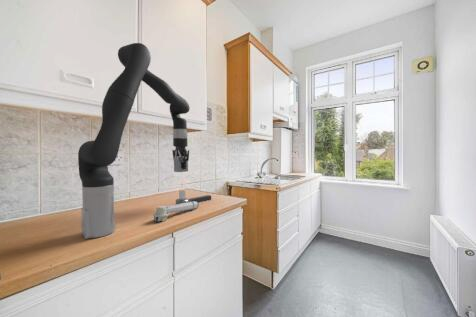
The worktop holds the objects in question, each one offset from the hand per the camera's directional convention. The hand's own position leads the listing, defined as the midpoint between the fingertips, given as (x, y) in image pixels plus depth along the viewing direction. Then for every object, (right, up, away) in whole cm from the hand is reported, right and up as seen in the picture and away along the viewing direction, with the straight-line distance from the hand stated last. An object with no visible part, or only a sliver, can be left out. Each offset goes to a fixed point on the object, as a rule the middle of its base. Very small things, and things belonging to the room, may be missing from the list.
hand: (180, 168), depth 109 cm
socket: (0, -1, 0) cm, 1 cm away
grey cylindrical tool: (+3, -21, -16) cm, 27 cm away
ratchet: (+6, -20, +6) cm, 22 cm away
